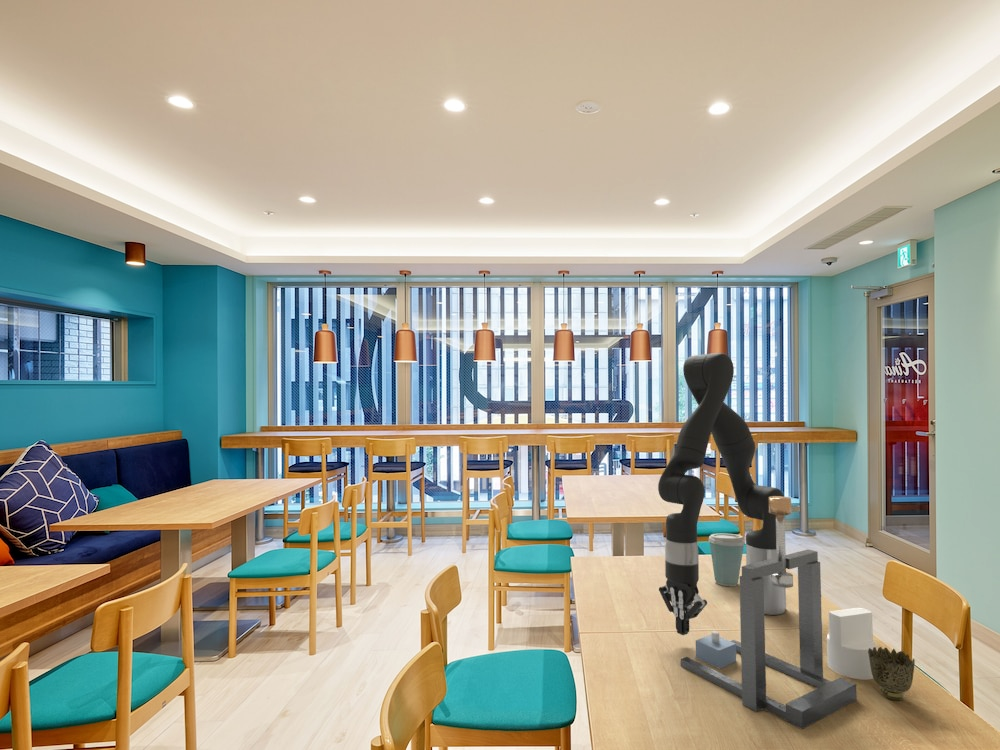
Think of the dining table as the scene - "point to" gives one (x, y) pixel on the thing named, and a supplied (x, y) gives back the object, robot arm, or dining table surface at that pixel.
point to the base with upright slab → (850, 642)
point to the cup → (891, 671)
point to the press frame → (755, 659)
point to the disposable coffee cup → (726, 557)
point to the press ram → (781, 538)
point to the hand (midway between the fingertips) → (682, 633)
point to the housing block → (716, 650)
